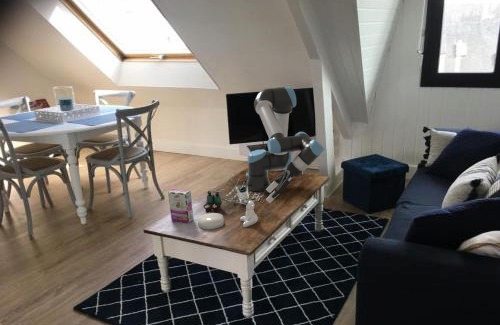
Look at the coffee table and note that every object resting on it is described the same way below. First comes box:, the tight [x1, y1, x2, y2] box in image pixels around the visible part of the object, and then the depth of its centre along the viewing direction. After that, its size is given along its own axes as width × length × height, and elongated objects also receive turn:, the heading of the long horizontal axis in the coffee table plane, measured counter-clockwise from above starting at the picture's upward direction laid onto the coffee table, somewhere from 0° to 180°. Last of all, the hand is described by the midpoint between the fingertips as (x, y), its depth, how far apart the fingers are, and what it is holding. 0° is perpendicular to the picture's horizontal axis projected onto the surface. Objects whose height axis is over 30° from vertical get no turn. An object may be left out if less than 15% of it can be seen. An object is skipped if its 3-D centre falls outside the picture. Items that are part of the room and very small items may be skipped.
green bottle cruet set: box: [203, 190, 223, 213], centre depth 221 cm, size 9×11×10 cm
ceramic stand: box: [197, 212, 225, 230], centre depth 207 cm, size 14×14×3 cm
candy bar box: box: [167, 189, 194, 224], centre depth 211 cm, size 11×5×16 cm, turn 66°
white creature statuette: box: [239, 200, 259, 228], centre depth 205 cm, size 10×9×12 cm
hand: (267, 196), depth 201 cm, fingers open, 13 cm apart
